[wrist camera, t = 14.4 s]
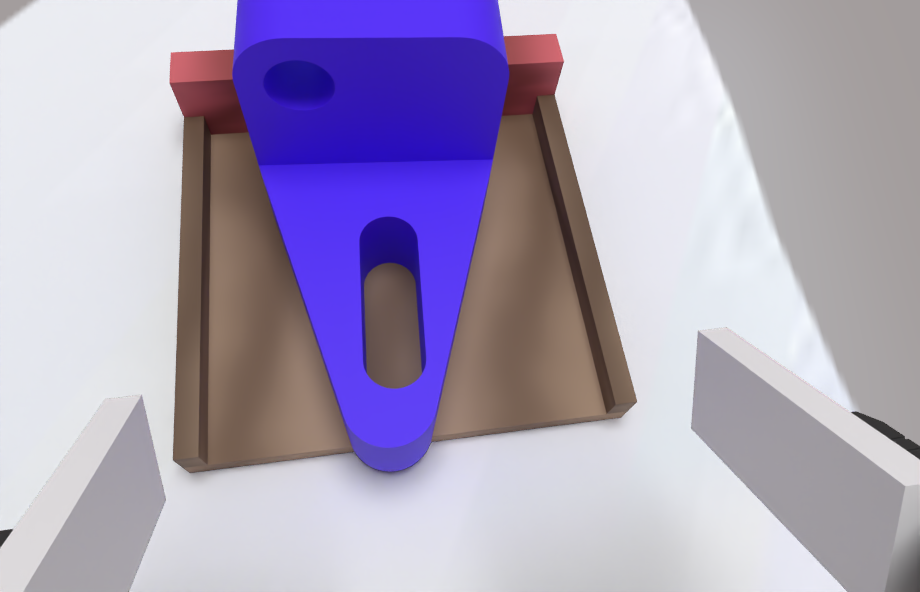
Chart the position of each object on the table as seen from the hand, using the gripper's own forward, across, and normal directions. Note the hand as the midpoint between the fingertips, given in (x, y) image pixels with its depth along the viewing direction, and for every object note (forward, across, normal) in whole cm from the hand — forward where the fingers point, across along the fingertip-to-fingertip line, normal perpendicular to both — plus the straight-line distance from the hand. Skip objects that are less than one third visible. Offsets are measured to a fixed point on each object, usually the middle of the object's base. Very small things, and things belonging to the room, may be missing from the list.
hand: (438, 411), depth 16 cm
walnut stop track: (+20, 0, -2) cm, 20 cm away
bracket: (+18, 0, -3) cm, 18 cm away
